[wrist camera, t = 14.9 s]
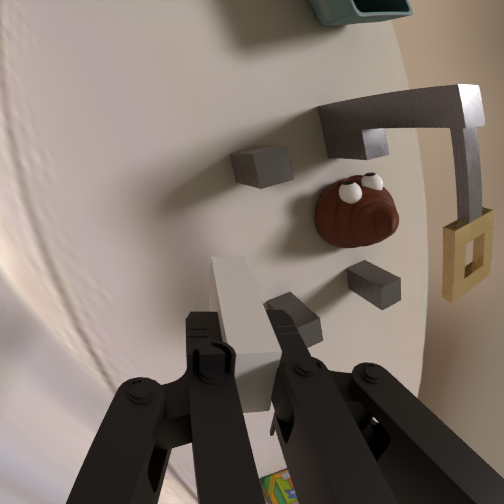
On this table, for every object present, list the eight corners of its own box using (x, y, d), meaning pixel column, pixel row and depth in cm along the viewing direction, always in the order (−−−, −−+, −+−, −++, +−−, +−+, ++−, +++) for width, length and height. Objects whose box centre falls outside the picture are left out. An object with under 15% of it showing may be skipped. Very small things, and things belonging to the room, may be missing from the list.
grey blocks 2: (348, 288, 41) (382, 310, 35) (323, 132, 34) (361, 129, 27) (366, 280, 42) (400, 300, 35) (344, 128, 34) (383, 125, 28)
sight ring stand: (332, 242, 38) (457, 305, 21) (305, 108, 32) (446, 84, 15) (370, 228, 39) (494, 276, 22) (349, 101, 34) (487, 86, 16)
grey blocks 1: (272, 321, 38) (298, 352, 32) (229, 154, 31) (252, 153, 25) (294, 312, 39) (323, 340, 33) (257, 146, 32) (285, 144, 26)
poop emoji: (320, 256, 38) (368, 283, 30) (302, 188, 35) (352, 199, 26) (382, 225, 40) (434, 243, 32) (370, 162, 37) (425, 168, 28)
